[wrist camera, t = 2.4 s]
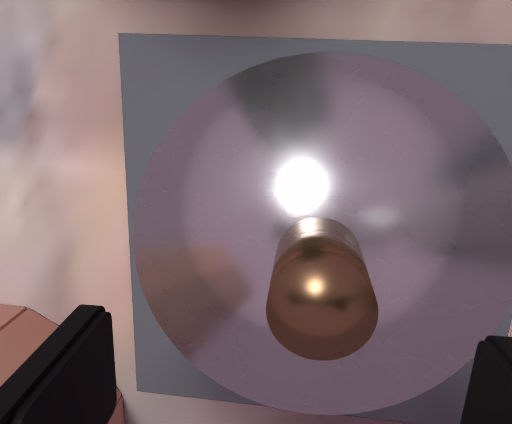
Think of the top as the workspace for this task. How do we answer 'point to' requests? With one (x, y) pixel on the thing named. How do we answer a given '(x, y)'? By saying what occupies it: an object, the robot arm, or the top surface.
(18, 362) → the bowl
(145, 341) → the mat
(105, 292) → the top surface
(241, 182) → the lid
